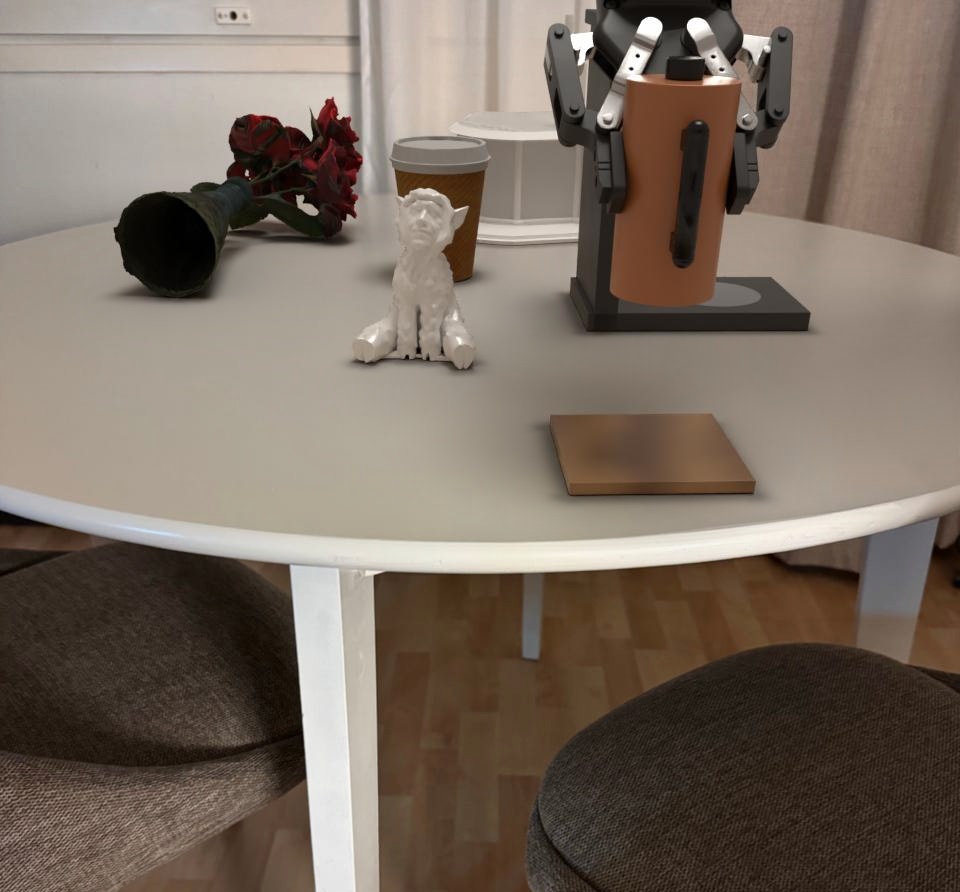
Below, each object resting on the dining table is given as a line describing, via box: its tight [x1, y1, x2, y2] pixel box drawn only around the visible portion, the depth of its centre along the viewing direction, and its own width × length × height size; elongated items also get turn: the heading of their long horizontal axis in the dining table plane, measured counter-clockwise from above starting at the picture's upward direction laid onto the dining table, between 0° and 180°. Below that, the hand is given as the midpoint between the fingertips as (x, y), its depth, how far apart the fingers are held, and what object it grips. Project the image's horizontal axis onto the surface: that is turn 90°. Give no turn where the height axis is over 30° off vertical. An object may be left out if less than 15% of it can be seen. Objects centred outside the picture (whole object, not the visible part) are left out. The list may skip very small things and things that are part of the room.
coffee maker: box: [569, 8, 812, 332], centre depth 89 cm, size 19×12×23 cm, turn 93°
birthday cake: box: [447, 13, 588, 246], centre depth 122 cm, size 30×29×22 cm
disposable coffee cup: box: [388, 135, 491, 283], centre depth 102 cm, size 10×10×12 cm
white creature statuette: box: [351, 188, 477, 370], centre depth 82 cm, size 10×9×12 cm
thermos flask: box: [610, 56, 743, 307], centre depth 58 cm, size 6×8×12 cm
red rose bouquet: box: [113, 95, 364, 299], centre depth 108 cm, size 16×18×35 cm
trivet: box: [548, 413, 757, 496], centre depth 67 cm, size 11×11×1 cm
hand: (678, 205), depth 57 cm, fingers closed on thermos flask, 6 cm apart
